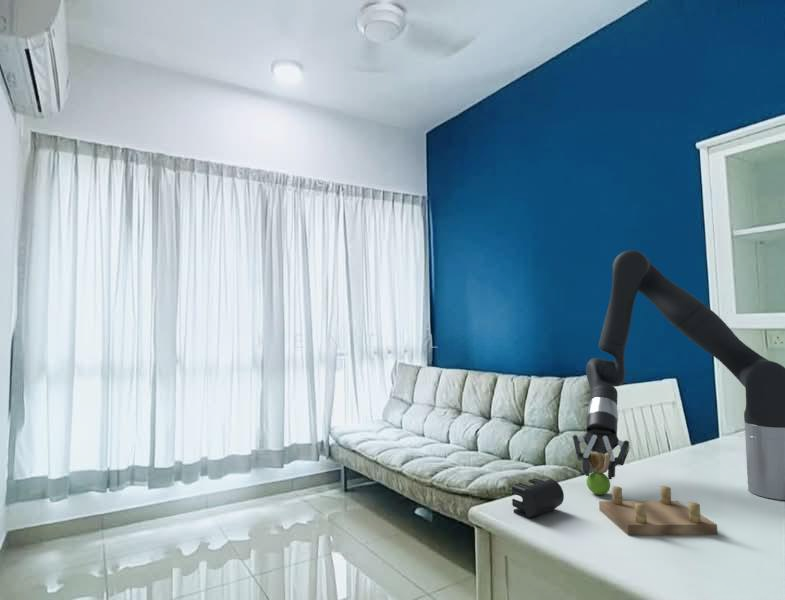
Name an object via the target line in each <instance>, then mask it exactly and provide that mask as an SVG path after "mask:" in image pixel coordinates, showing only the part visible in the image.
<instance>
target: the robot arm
mask: <svg viewBox="0 0 785 600" xmlns="http://www.w3.org/2000/svg"><path fill="white" fill-rule="evenodd" d="M611 283H612V286H611V293H610V297H609V298H610V299H609V303H608V307H607V311H606V313H605V314H606V315H605V317H604V322H603V325H602V329H601V334H600V337H599V338H600V339H599V342H598V348H599V350H601V351H602V352H604V353H607V354H609V355H611V356H613V360H614V361H612V360H607V359H604V358H599V357H593V358H590V359H589V360H588V362H587V364H586V366H585V372H586V373H585V375H586V379H587V382H588V386H589V392H590V394H589V395H590V396H589V403H588V408H587V413H586V414H587V416H586V425H585V433H583V436H582V435H581V436H578V435H576V434H574V435H573V436H572V439H573V445H574V449H575V455H576V458H577V460H578V461H582V472H583V474H585V477H588V476H589V475H590V470H591V468H590V465H591V463H590V461H589V456H590V454H591V453H592V452H599V453H600V454H603V455H605V454H606V453H608V451H607V449H611V451H609V454H610V455H611V458H610V463H609V467H608V470H607V477H608V479H609V480H611V481H612V480H613V478H615V476H616V467H617V466H623V465H624V464H625V462H626V459H627V457H628V453H629V452H630V450H631V447H630V441H629V440H624V441H623V440H620V439H619V438H618V421H619V412H618V389H617V388H616V387H620V386H621V385H622V384H623V383H624V381H625V379H626V367H625V351H626V345H627V343H628V339H629V334H630V330H631V323H632V317H633V316H632V315H633V310H634V305H635V301H636V297H637V293H638V292H640V293H641V294H642V295H643V296H645V297H646V298H647V299H648V300H649V301H650V302H651V303H652V304H653V305H654V306H655V308H656V309H657V310H658V311H659V312H660V313H661V314H662V316H663V317H665V319H666V320H667V321H668V322H669V323H670V324H671V325H672V326H673V327H675V328H676V329H677V330H678V331H679V332H680V333H682V334H683V335H684V336H685V337H686V338H688V339H689V340H690V341H692V342H693V343H694V344H695V345H697V346H698V347H700V348H701V349H702V350H704V351H706V353H707V354H710V355H711V356H712V357H714V358H715V359H717V360H718V361H719V362H720V363H721V364H722V365H724V367H725V368H726V369H727V370H728V371H729V372H730V373H731V374H732V375H733V376H734V377H735V378H736V379H737V380H738V381H739V383H740V384H741V385H742V386H743V387H744V388H745V410H744V411H743V417H744V418H743V420H744V421H743V422H744V436H745V439H744V440H745V453H746V455H745V456H746V457H745V458H746V472H747V473H746V474H747V475H746V476H747V486H748V487H747V490H748V492H750V494H754V495H756V496H760V497H762V498H768V499H772V500H779V501H785V366H784V365H782V364H781V363H779V362H775V361H773V360H770V359H767V358H765V357H764V356H762V355H761V354H759V353H757V352H756V351H755V350H753V349H752V348H751V347H749V346H747V345H746V344H745V343H744V342H743V341H742V340H740V338H739V337H738V336H737V335H736V334H735V333H734V331H733V330H732V329H731V328H730V326H729V325H727V323H725V321H724V320H723V319H722V318H721V317H720V316H718V314H717V313H715V311H713V310H712V309H710V307H708V306H707V305H706V304H705V303H704V302H702V301H701V300H700V299H699V298H697V297H695V296H694V295H692V294H691V293H690V292H688V291H687V290H685V289H683V288H681V286H678V285H676V284H675V283H674V282H672V281H671V280H669V279H668V278H667V277H666V276H664V274H662V273H661V272H660V270H659V269H657V268H656V267H655V266H654V264H653V263H652V262H650V260H649V259H648V257H647V256H646V255H644V253H642V252H640V251H637V250H633V249H632V250H631V249H629V250H624V251H622V252H620V253H619V254H618V255H617V256H616V257H615V258H614V260H613V262H612V282H611ZM583 442H584V443H585V444H586V445H587V446H586V449H585V451H584V453H583V452H582V450H581V447H582V445H583ZM617 446H619V450H620V451H619V453H618V456H616V457H615V455H614V453H613V452H614V451H613V450H614V449H616V447H617Z"/></svg>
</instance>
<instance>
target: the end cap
mask: <svg viewBox="0 0 785 600" xmlns="http://www.w3.org/2000/svg"><path fill="white" fill-rule="evenodd" d="M528 483H529V484H525V483H522V482H518V483H515V484H513V485H512V487H511V494H513V495H516V496H519V497H520V498H521V499H522V500H521V501H520V500H518V499H515V498H512V500H511V501H512V503H511V505H512V507H514V508H515V509H513V514H515V515H518V516H521V517H523V518H525V519H531V518H535V517H537V516H539V515H543V514H544V513H548V512H550V511H553V510H555V509H557V508H558V507H560V505H562V504H563V502H564V499H565V498H564V497H565V496H564V495H565V493H564V490H563V488H562V486H561V485H560V483H558V481H556V480H555V479H553V478H551V479H547V480H543V479H539V478H537V477H534V478H532V479H531V478H530V479H528ZM531 484H532V485H531Z"/></svg>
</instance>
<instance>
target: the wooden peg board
mask: <svg viewBox="0 0 785 600" xmlns="http://www.w3.org/2000/svg"><path fill="white" fill-rule="evenodd" d="M611 488H612V489H611V491H612V493H611V494H612V500H611V501H610V500H609V501H608V500H606V501H605V500H603V501H602V500H601V501H600V500H599V502H598V503H599V504H598V505H599V510H598V511H600V513H602V514H603V515H604V516H605V517H606V518H608V519H609V520H610V521H611V522H612V523H614V524H615V525H616V526H617V527H618V528H619V529H620V530H621V531H623V532H624V533H625V534H626V535H627V536H701V535H702V536H706V535H708V536H709V535H711V536H716V535H718V524H717V523H715V522H714V521H713V520H710V519H708V518H707V517H705V516H704V515H702V514H701V505H700V504H699V503H697V502H695V501H690V502H688V503H687V504H688V505H685V504H684V503H682V502H680V501H679V500H672V492H671V490H672V487H670V486H667V485H661V486H660V487H659V488H660V500H623V488H622V487H621V486H617V485H616V486H612V487H611Z"/></svg>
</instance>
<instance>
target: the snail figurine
mask: <svg viewBox="0 0 785 600" xmlns="http://www.w3.org/2000/svg"><path fill="white" fill-rule="evenodd" d="M607 451H608V453H606V454H604V456H603V455H602V453H599V452H592V453H591V454H590V456H589V461H590V470H591V471H592V472H591V473H589V476H587V477H586V486H587V488H588V489H589V490H590V491H591V492H592V493H593V494H595V495H598V496H603V495H606V494H607V493H608V492H609V491H610V488H611V481H610V479H608V475H606V474H605V473H606V472H608V467H609V463H610V458H611V455H610V454H609V451H611V449H607Z"/></svg>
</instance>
